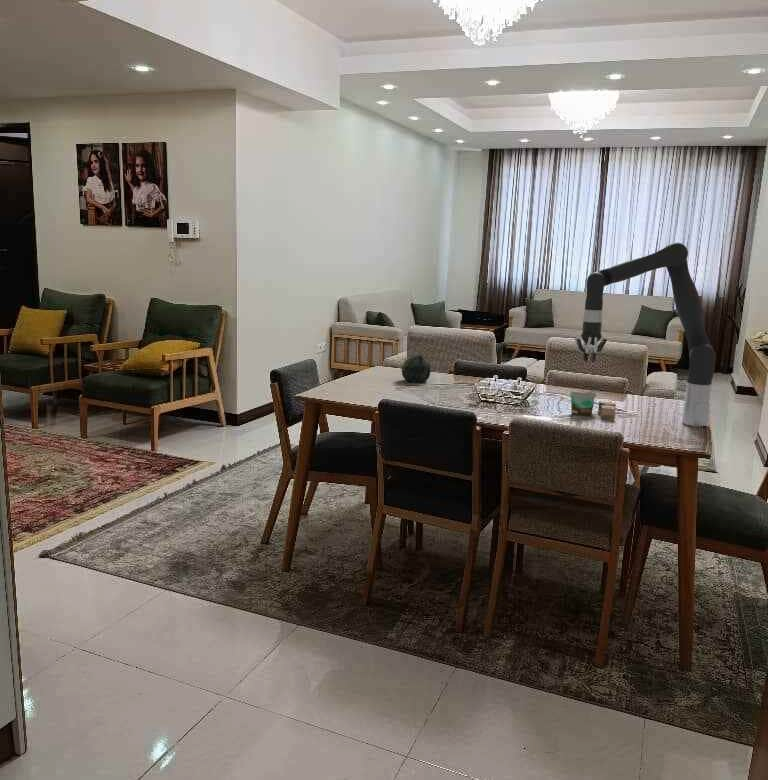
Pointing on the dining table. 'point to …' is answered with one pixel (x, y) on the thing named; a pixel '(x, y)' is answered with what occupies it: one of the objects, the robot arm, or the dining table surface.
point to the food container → (582, 402)
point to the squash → (416, 369)
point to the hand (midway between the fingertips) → (589, 361)
